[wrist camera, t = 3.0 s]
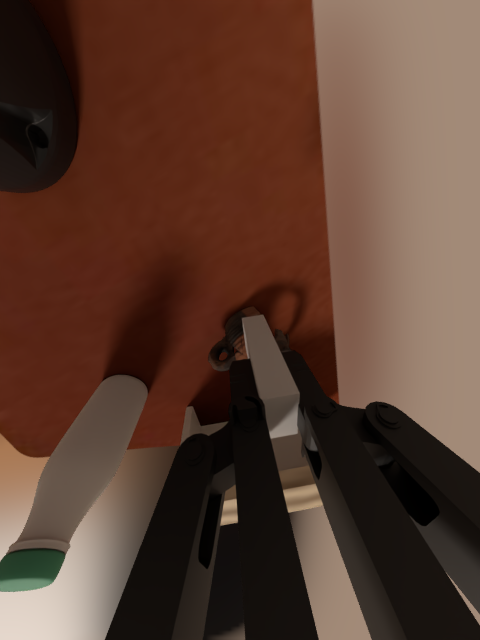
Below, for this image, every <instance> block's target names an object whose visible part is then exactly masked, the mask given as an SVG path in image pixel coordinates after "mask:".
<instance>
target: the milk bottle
mask: <svg viewBox="0 0 480 640" xmlns="http://www.w3.org/2000/svg"><path fill="white" fill-rule="evenodd" d="M147 395H148V391H147V387H146V385H145V384H144V383H143V382H142V381H141V380H139V379H137V378H135V377H132V376H129V375H114V376H111V377H109V378H107V379H105V380H104V381H103V382H102V383H101V384H100V385H99V387H98V388H97V389H96V391H95V392H94V394H93V395H92V396H91V398H90V399H89V401H88V402H87V404H86V405H85V406H84V408H83V409H82V411H81V412H80V414H79V415H78V416H77V418H76V419H75V421H74V422H73V424H72V425H71V427H70V428H69V429H68V431H67V432H66V434H65V435H64V437H63V438H62V440H61V441H60V443H59V444H58V446H57V447H56V449H55V450H54V452H53V453H52V455H51V456H50V458H49V460H48V462H47V464H46V466H45V467H44V469H43V472H42V474H41V477H40V479H39V482H38V486H37V490H36V494H35V498H34V503H33V506H32V509H31V512H30V515H29V517H28V520H27V523H26V525H25V527H24V529H23V532H22V533H21V535H20V537H19V538H18V540H17V541H16V542H15V543H14V544H12V545H11V546H10V547H9V550H8V552H7V553H6V555H5V556H4V557H3V559H2V560H1V562H0V591H2V592H15V591H28V590H34V589H39V588H43V587H46V586H48V585H50V584H51V583H52V582H54V580H55V579H56V577H57V575H58V573H59V571H60V569H61V566H62V564H63V562H64V559H65V555H66V553H67V551H68V549H69V548H70V544H69V542H70V540H71V537H72V535H73V534H74V532H75V530H76V528H77V527H78V525H79V524H80V522H81V521H82V519H83V518H84V516H85V515H86V513H87V512H88V510H89V509H90V508H91V507H92V505H93V504H94V503H95V502H96V501H97V500H98V498H99V497H100V496H101V495H102V493H103V492H104V491H105V490H106V488H107V487H108V485H109V484H110V482H111V481H112V479H113V477H114V476H115V474H116V472H117V470H118V468H119V466H120V463H121V461H122V459H123V456H124V454H125V452H126V449H127V447H128V444H129V442H130V439H131V437H132V434H133V432H134V429H135V427H136V424H137V422H138V419H139V417H140V414H141V412H142V409H143V407H144V404H145V401H146V399H147Z"/></svg>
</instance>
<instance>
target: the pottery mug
mask: <svg viewBox="0 0 480 640" xmlns="http://www.w3.org/2000/svg"><path fill="white" fill-rule="evenodd" d="M257 315H261V314H260V312H259V311H257V310H256V309H255V307H248V308H245V309H243V310H241V311H239V312H237V313H236V314H234V315H233V316H232V317H231V318H230V319H229V320H228V321H227V323H226V326H225V334H226V335H225V337H223V339H222V340H221V341H219V342H218V343H217V344H216V345H215V346H214V347H213V348H212V349H211V351H210V353H209V357H208V358H209V359H208V361H209V363H211V366H212V367H213V368H214V369H215V370H217V371H227V370H229V368H230V365H231V363H232V361H236V360H242V359H248V356H247V352H246V346H245V338H244V331H243V323H242V318H245V317H251V316H257ZM274 339H275V341H276V343H277V345H278V348H279V350H280V352H287V351H292V350H291V349H290V348H289V336H288V334H286V337H285V336H284V335H283V332H282V331H281V330H278V329H276V330H275V337H274ZM234 347H235V349H236V350H238V351H237V352H236V353H235V354H234ZM222 352H226V353H227V354H228V356H227V358H226V359H225V360H222V361H220V360H219V356H220V354H221V353H222Z"/></svg>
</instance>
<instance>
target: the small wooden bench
mask: <svg viewBox="0 0 480 640" xmlns="http://www.w3.org/2000/svg"><path fill="white" fill-rule="evenodd" d="M227 423H228V422H222V423H216V424H211V425H205V426H200V423H199V421H198V418H197V416H196V413H195V411H194V408H193V406H190V407H187V408H186V414H185V420H184V427H183V433H182V439H181V443H183V442H184V441H185V440H186V439H187V438H188V437H189V436H191V435H193V434H198V433H203V434H206V435H208V436H209V435H211V434H213V433H215V432H216V431H218V430H220V429H221V428H223V427H224V426H225V425H226V424H227ZM271 442H272V446H273V450H274V455H275V459H276V463H277V467H278V471H279V475H280V480H281V484H282V488H283V492H284V496H285V501H286V505H287V509H288V512H293V511H298V510H304V509H309V508H314V507H319V506H323V503H322V500H321V498H320V495H319V492H318V489H317V487H316V484H315V481H314V478H313V476H312V473H311V470H310V467H309V465H308V462H307V459H306V456H305V457H303V458H302V455H301V444H302V437H301V434H300V432H299V429H298V434H294V435H288V436H282V437H277V438H271ZM236 522H238V516H237V500H236V485H234V486H233V487H231V488H230V489H228V490H227V491H226V492H225V498H224V505H223V511H222V518H221V524H220V526H221V525H225V524H231V523H236Z"/></svg>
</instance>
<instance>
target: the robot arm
mask: <svg viewBox="0 0 480 640" xmlns="http://www.w3.org/2000/svg"><path fill="white" fill-rule="evenodd" d="M76 137H77V122H76V112H75V105H74V100H73V96H72V92H71V88H70V84H69V81H68V78H67V75H66V72H65V69H64V67H63V64H62V62H61V59H60V57H59V54H58V52H57V50H56V48H55V46H54V43H53V41H52V39H51V38H50V36H49V34H48V32H47V30H46V28H45V26H44V25H43V23H42V21H41V19H40V18H39V16H38V14H37V13H36V11H35V10H34V8H33V6H32V5H31V3H30V2H29V1H28V0H0V191H6V192H15V193H28V192H35V191H39V190H43V189H45V188H48V187H49V186H51V185H53V184H54V183H56V182H57V181H58V180H59V179H60V178H61V177H62V176H63V175H64V174H65V172H66V171H67V169H68V167H69V165H70V163H71V161H72V158H73V155H74V151H75V146H76ZM242 323H243V331H244V338H245V346H246V352H247V356H248V359H242V360H236V361H232V363H231V365H230V368H229V372H230V387H231V401H232V402H231V403H230V405H229V411H228V413H229V417H230V420H229V421H228V423H227V424H226V425H225V426H224V427H223V428H221V429H220V430H218V431H216V432H215V433H213V434H211V435H209V436H208V435H206V434H203V433H198V434H193V435H191V436H189V437H188V438H187V439H186V440H185V441H184V442H183V443H181V445H180V447H179V449H178V451H177V453H176V456H175V458H174V461H173V464H172V466H171V469H170V471H169V474H168V476H167V479H166V482H165V484H164V487H163V490H162V492H161V495H160V497H159V500H158V503H157V506H156V508H155V510H154V513H153V516H152V518H151V521H150V523H149V526H148V529H147V531H146V534H145V536H144V539H143V542H142V545H141V547H140V549H139V552H138V555H137V557H136V560H135V562H134V565H133V568H132V570H131V573H130V575H129V578H128V581H127V583H126V586H125V589H124V591H123V594H122V596H121V599H120V602H119V604H118V607H117V609H116V612H115V615H114V617H113V620H112V622H111V625H110V628H109V630H108V633H107V636H106V638H105V640H203V633H204V627H205V620H206V614H207V607H208V601H209V595H210V588H211V581H212V576H213V569H214V563H215V556H216V549H217V543H218V537H219V530H220V524H221V518H222V511H223V505H224V498H225V492H226V491H227V490H228V489H230V488H231V487H233V486H234V485H236V500H237V516H238V531H239V546H240V562H241V577H242V593H243V609H244V624H245V640H319V639H318V635H317V630H316V626H315V622H314V618H313V614H312V610H311V605H310V601H309V597H308V593H307V589H306V584H305V580H304V576H303V572H302V568H301V563H300V559H299V555H298V551H297V547H296V542H295V538H294V534H293V530H292V526H291V522H290V518H289V513H288V509H287V505H286V501H285V496H284V492H283V488H282V484H281V480H280V475H279V471H278V467H277V463H276V459H275V455H274V450H273V446H272V442H271V438H277V437H282V436H288V435H294V434H298V429H299V432H300V434H301V437H302V444H301V455H302V458H303V457H305V456H306V459H307V462H308V465H309V467H310V470H311V473H312V476H313V478H314V481H315V484H316V487H317V489H318V492H319V495H320V498H321V500H322V503H323V506H324V509H325V511H326V514H327V517H328V520H329V522H330V525H331V528H332V531H333V533H334V536H335V539H336V542H337V544H338V547H339V550H340V553H341V556H342V558H343V561H344V564H345V567H346V569H347V572H348V575H349V578H350V580H351V583H352V586H353V589H354V591H355V594H356V597H357V599H358V602H359V605H360V608H361V610H362V613H363V616H364V619H365V621H366V625H367V627H368V630H369V633H370V635H371V638H372V640H480V625H479V624H478V622H477V621H476V619H475V618H474V616H473V614H472V613H471V611H470V610H469V608H468V607H467V605H466V603H465V602H464V600H463V599H462V597H461V596H460V594H459V592H458V591H457V589H456V588H455V586H454V585H453V583H452V582H451V580H450V578H451V579H452V580H453V581H454V582H455V584H456V585H457V586H458V588H459V589H460V590H461V591H462V593H463V594H464V595H465V596H466V598H467V599H468V600H469V601H470V603H471V604H472V605H473V606H474V608H475V609H476V610H477V611H478V612H479V614H480V473H479V472H478V471H476V470H475V469H474V468H473V467H471V466H470V465H469V464H468V463H466V462H465V461H464V460H463V459H461V458H460V457H459V456H458V455H456V454H455V453H454V452H453V451H451V450H450V449H449V448H448V447H446V446H445V445H444V444H443V443H441V442H440V441H439V440H437V439H436V438H435V437H434V436H432V435H431V434H430V433H429V432H427V431H426V430H425V429H424V428H422V427H421V426H420V425H419V424H417V423H416V422H415V421H413V420H412V419H411V418H409V417H408V416H407V415H406V414H405V413H403V412H402V411H401V410H399V409H398V408H396V407H394V406H392V405H390V404H387V403H384V402H373V403H370V404H369V405H367V406H366V409H359V408H352V407H346V406H342V405H339V404H337V403H336V402H335V401H334V400H332V399H331V398H329V397H327V396H326V395H325V393H324V392H323V390H322V388H321V387H320V385H319V384H318V382H317V380H316V379H315V377H314V375H313V374H312V372H311V370H310V369H309V367H308V365H307V364H306V362H305V360H304V359H303V357H302V356H301V355H300V354H299V353H297V352H296V351H295V350H293V351H287V352H280V350H279V348H278V345H277V343H276V341H275V339H274V337H273V335H272V332H271V330H270V328H269V326H268V324H267V322H266V320H265V317H264V315H257V316H251V317H245V318H242ZM444 570H445V571H446V572H445V571H444ZM446 573H447V574H448V575H449V576H450V578H449V577H448V575H447V574H446Z"/></svg>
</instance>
